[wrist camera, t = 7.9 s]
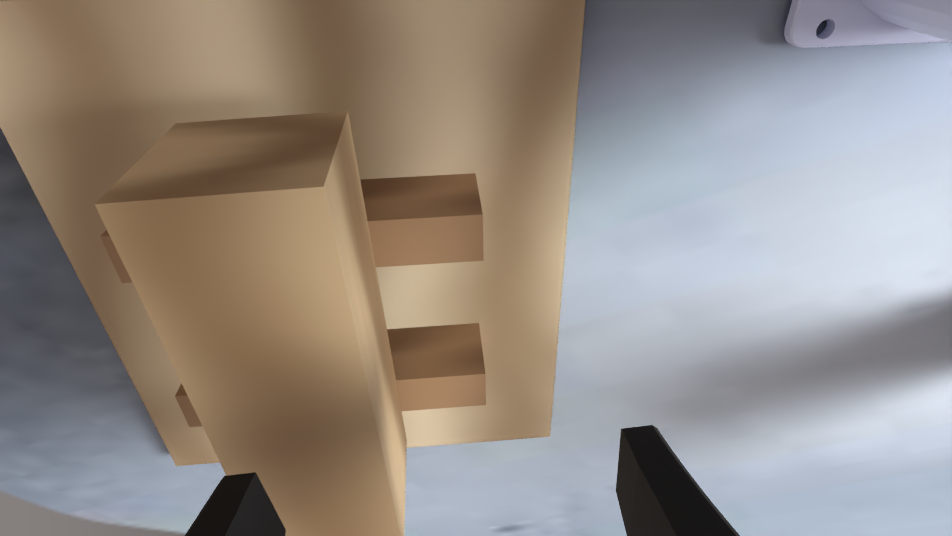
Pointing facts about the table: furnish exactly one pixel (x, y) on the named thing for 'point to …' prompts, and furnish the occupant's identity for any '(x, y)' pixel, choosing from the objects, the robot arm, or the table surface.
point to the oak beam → (272, 310)
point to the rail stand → (378, 158)
